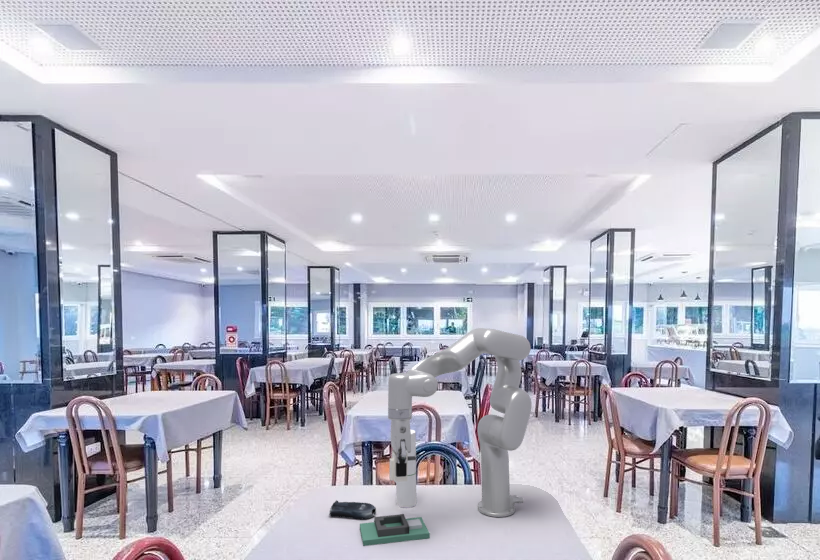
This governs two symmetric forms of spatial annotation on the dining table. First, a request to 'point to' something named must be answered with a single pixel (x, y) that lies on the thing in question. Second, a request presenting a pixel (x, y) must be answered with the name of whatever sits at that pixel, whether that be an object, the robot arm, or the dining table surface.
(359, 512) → the electronic device
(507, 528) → the dining table surface
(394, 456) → the keyed plug
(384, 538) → the circuit board
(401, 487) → the cylindrical container
